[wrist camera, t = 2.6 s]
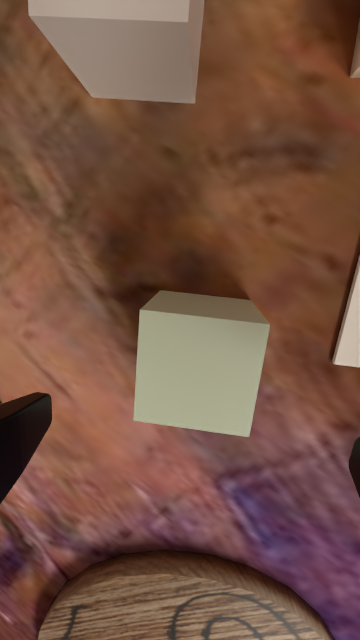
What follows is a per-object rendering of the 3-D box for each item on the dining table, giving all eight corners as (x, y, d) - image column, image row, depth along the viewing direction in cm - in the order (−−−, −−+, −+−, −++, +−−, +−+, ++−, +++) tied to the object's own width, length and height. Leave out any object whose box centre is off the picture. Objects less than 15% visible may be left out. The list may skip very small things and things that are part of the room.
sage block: (236, 381, 16) (249, 437, 12) (154, 370, 17) (133, 420, 12) (250, 299, 15) (270, 324, 10) (160, 290, 16) (139, 309, 11)
